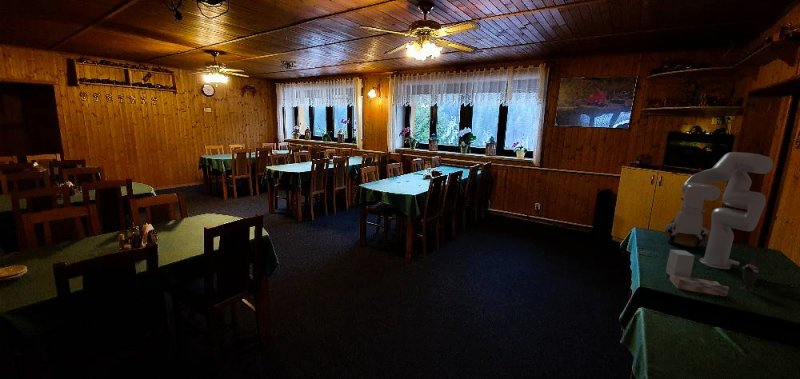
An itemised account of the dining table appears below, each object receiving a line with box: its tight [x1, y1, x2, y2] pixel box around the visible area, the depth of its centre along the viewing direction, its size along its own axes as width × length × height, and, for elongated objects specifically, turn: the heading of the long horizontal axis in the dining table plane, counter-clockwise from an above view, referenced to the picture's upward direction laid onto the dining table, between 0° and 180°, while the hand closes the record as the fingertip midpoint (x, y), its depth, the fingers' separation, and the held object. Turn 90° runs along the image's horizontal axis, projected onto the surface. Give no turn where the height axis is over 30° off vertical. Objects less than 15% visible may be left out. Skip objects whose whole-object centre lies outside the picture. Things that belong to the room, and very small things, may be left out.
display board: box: [669, 275, 730, 297], centre depth 158 cm, size 18×10×4 cm, turn 69°
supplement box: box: [665, 249, 695, 278], centre depth 169 cm, size 7×7×13 cm
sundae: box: [738, 258, 762, 293], centre depth 156 cm, size 7×7×15 cm
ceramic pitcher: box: [664, 197, 707, 248], centre depth 212 cm, size 20×20×30 cm
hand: (683, 244), depth 166 cm, fingers open, 9 cm apart
